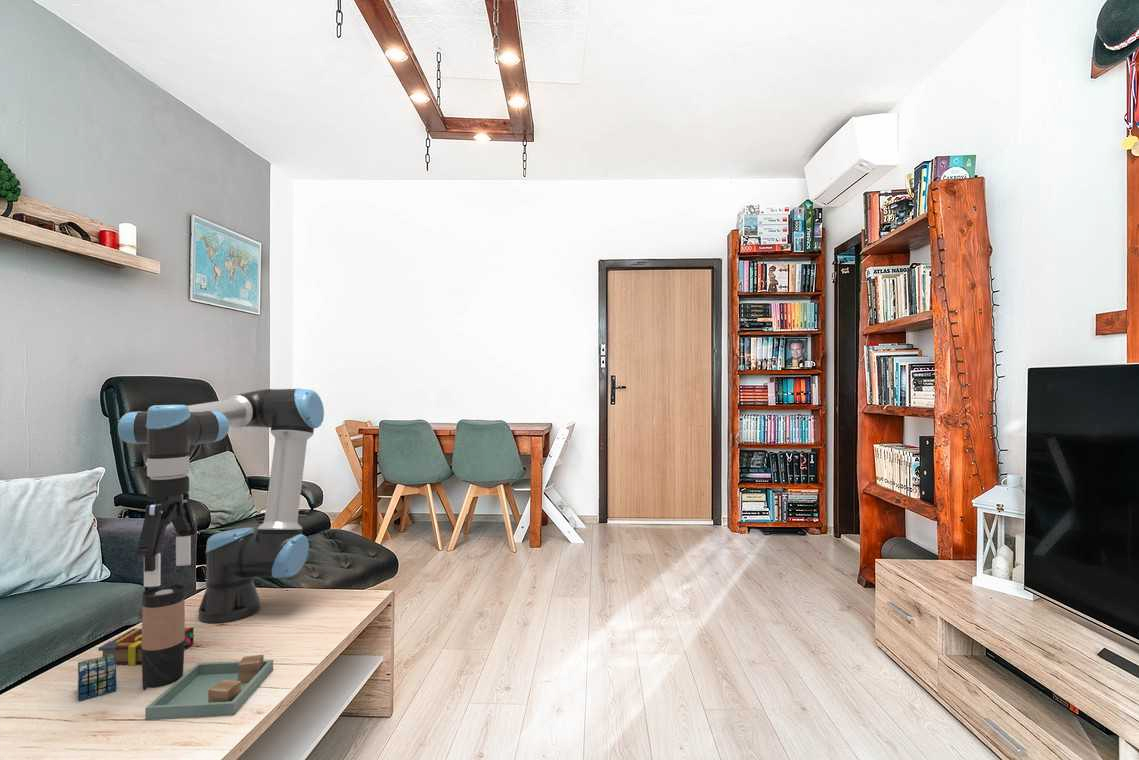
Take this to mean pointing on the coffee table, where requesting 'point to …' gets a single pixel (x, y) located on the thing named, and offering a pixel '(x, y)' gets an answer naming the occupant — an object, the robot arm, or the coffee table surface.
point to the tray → (204, 692)
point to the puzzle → (96, 677)
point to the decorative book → (134, 646)
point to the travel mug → (163, 635)
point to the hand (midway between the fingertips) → (168, 575)
